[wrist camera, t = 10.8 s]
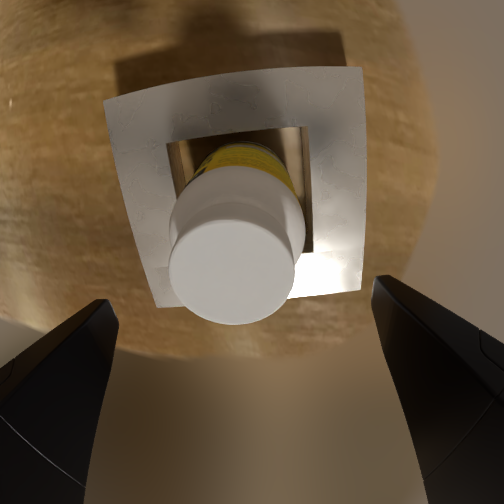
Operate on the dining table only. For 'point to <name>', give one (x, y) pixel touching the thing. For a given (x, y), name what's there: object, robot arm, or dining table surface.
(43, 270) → the dining table surface
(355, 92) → the frame
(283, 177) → the supplement bottle
